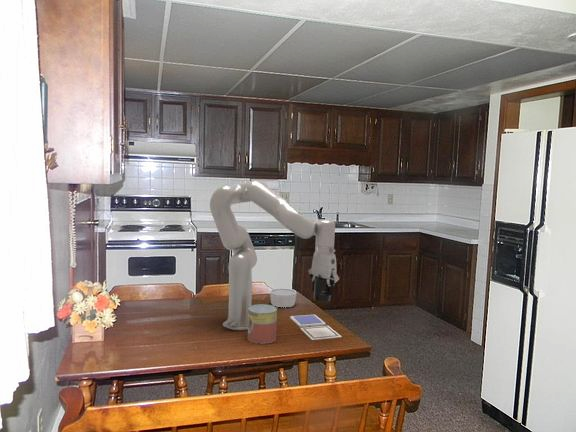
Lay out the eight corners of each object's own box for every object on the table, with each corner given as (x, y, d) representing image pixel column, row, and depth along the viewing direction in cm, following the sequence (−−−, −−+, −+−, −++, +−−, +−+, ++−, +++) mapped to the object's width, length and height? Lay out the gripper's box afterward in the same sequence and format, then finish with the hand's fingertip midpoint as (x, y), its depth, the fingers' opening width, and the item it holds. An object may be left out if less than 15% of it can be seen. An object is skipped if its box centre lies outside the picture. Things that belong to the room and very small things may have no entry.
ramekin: (266, 301, 219) (267, 288, 218) (291, 300, 223) (291, 287, 222) (273, 309, 206) (274, 295, 205) (299, 308, 210) (300, 294, 209)
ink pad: (325, 325, 188) (325, 322, 188) (299, 327, 184) (300, 325, 184) (314, 316, 199) (314, 314, 199) (290, 318, 195) (290, 315, 195)
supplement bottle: (324, 303, 172) (326, 274, 171) (310, 299, 176) (311, 271, 175) (333, 300, 178) (335, 271, 177) (319, 296, 182) (321, 268, 181)
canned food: (244, 334, 174) (245, 305, 172) (270, 331, 178) (271, 303, 176) (251, 345, 163) (252, 314, 162) (279, 342, 167) (281, 312, 166)
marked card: (341, 337, 175) (341, 336, 174) (312, 340, 170) (312, 339, 170) (328, 326, 187) (328, 325, 187) (300, 328, 182) (300, 327, 182)
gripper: (347, 252, 171) (344, 296, 173) (315, 246, 184) (313, 287, 186) (334, 254, 166) (332, 299, 168) (302, 247, 179) (300, 289, 180)
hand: (322, 292), depth 177 cm, fingers closed on supplement bottle, 6 cm apart
